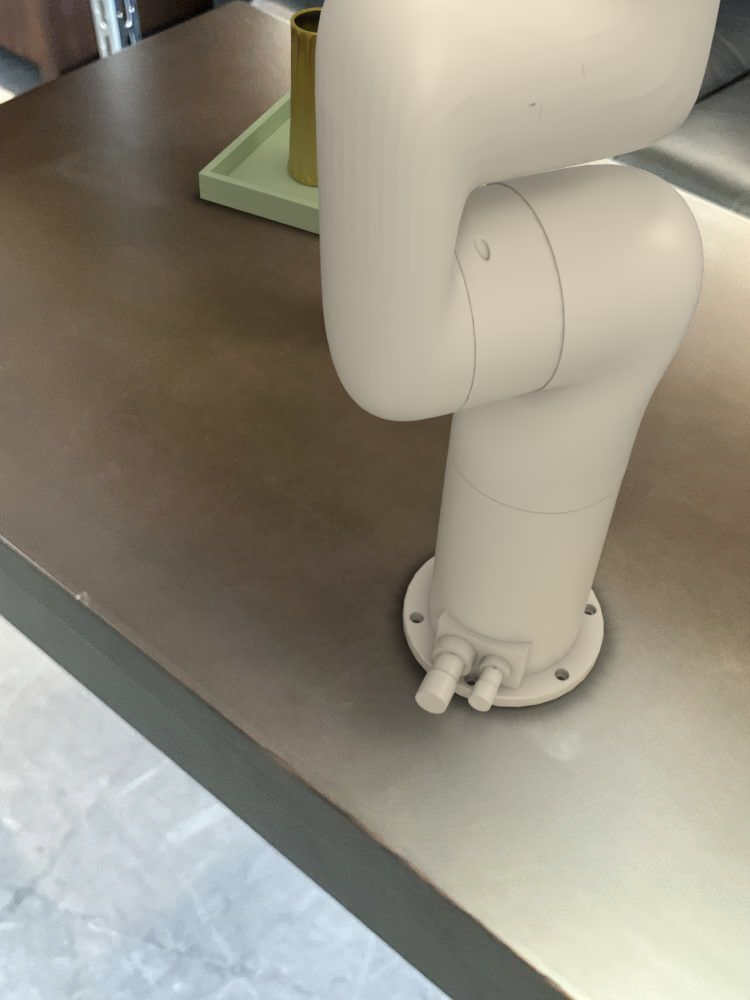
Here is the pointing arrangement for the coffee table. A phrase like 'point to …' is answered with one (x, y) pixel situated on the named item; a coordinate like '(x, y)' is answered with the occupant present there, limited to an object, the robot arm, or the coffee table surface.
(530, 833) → the coffee table surface
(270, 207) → the tray
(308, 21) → the vase
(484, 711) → the robot arm
